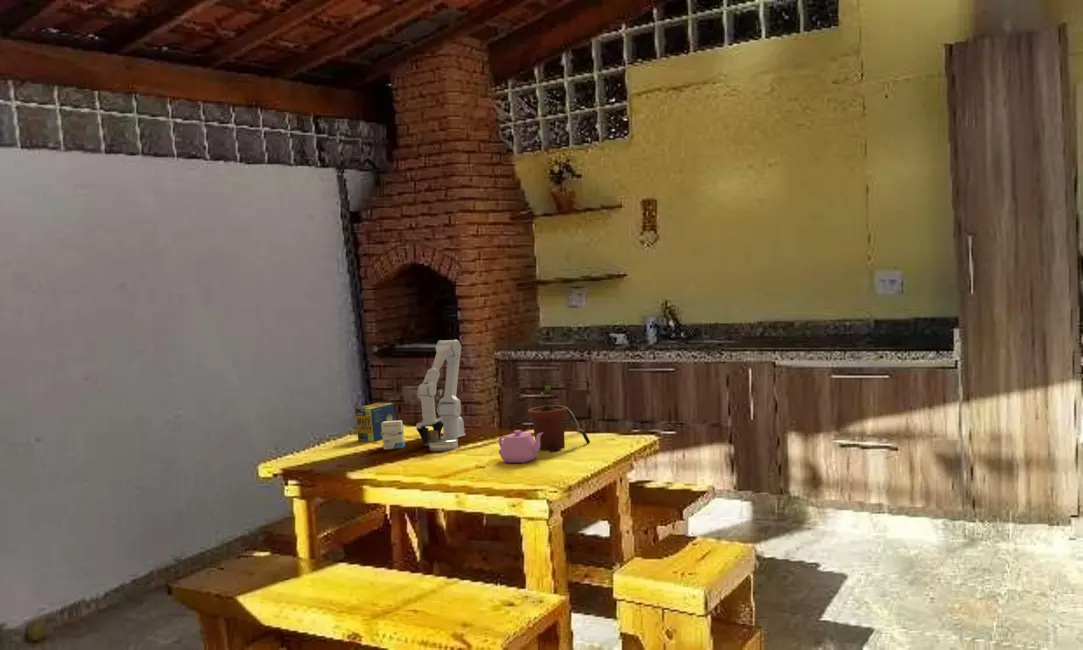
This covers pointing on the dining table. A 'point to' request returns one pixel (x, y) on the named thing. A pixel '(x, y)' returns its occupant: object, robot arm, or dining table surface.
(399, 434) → the ink box
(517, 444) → the teapot
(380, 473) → the dining table surface
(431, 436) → the walnut block
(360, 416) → the protein box
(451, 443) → the biscuit tin
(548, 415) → the potted plant
